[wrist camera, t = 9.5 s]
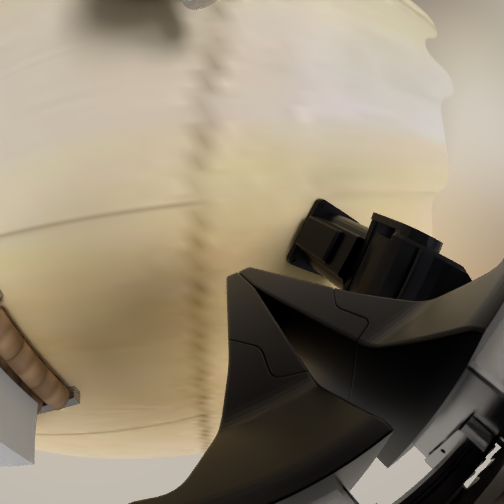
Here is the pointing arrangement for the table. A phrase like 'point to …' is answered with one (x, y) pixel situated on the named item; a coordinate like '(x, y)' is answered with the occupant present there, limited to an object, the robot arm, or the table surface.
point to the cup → (197, 3)
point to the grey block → (16, 424)
